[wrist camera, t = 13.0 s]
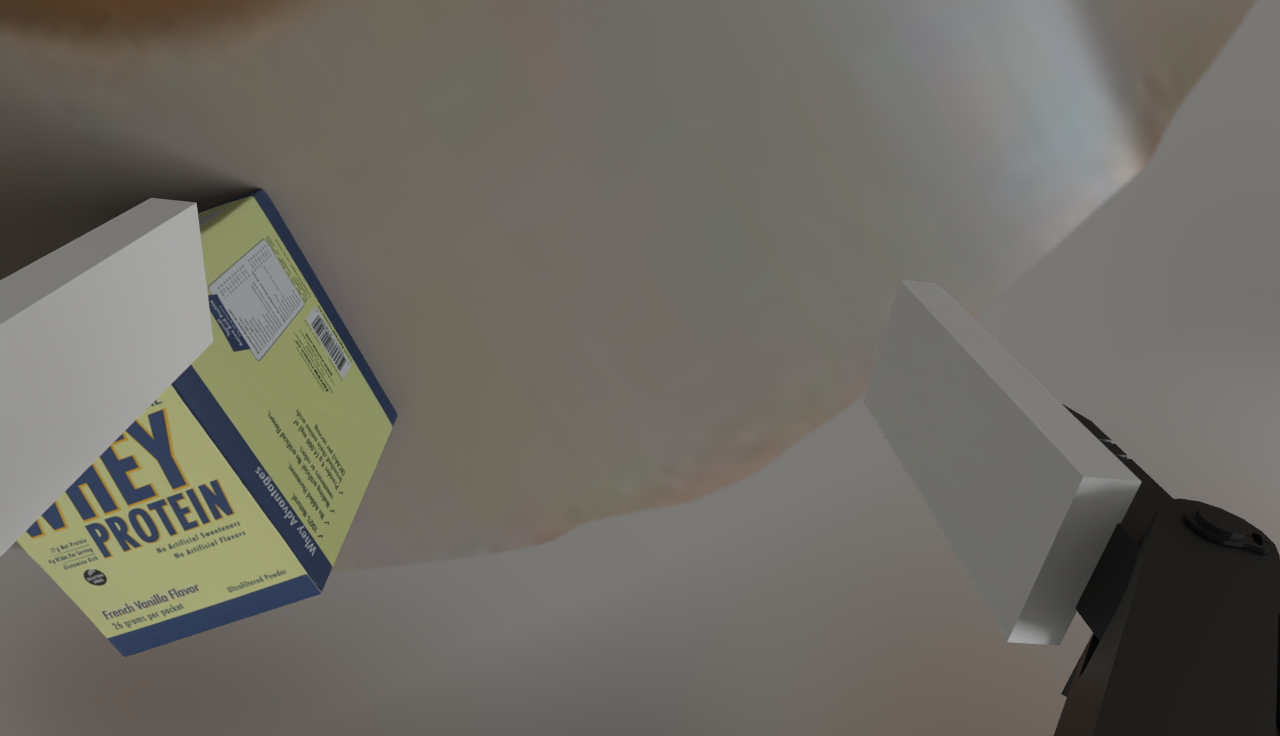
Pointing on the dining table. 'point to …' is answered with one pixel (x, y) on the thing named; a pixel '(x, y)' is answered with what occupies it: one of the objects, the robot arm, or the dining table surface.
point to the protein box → (227, 456)
